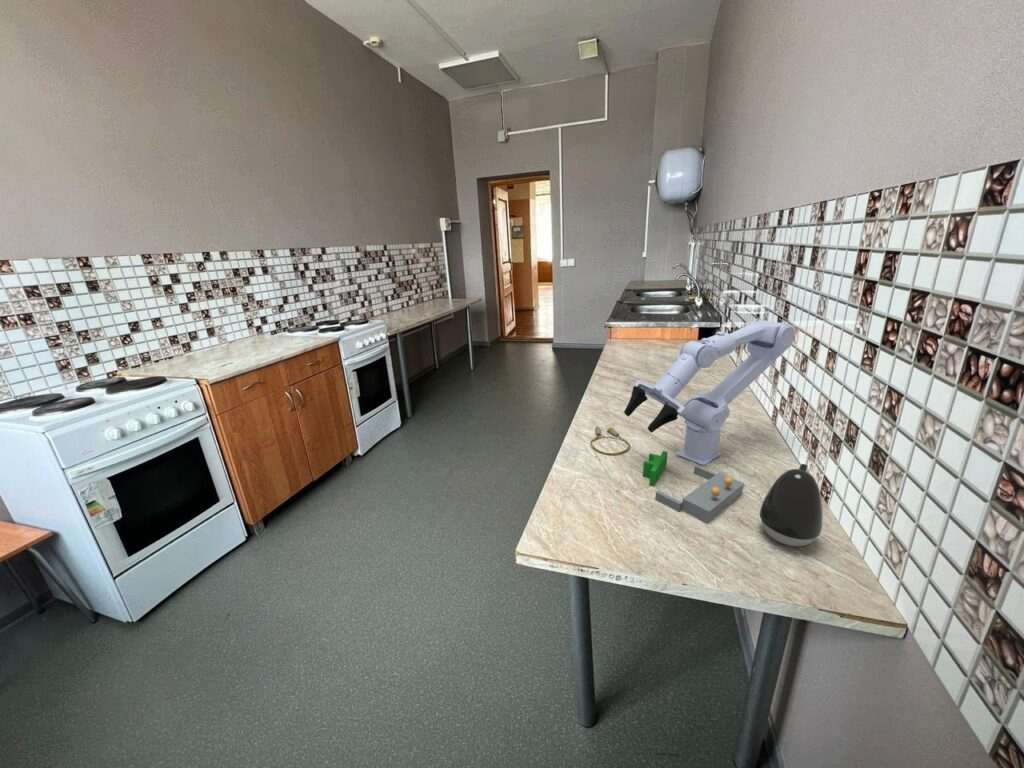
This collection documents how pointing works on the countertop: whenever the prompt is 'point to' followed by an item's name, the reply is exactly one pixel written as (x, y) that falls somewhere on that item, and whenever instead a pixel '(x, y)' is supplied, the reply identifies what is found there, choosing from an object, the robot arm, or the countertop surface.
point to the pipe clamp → (654, 467)
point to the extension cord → (612, 432)
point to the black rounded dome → (793, 508)
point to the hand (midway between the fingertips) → (637, 422)
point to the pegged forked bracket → (706, 495)
